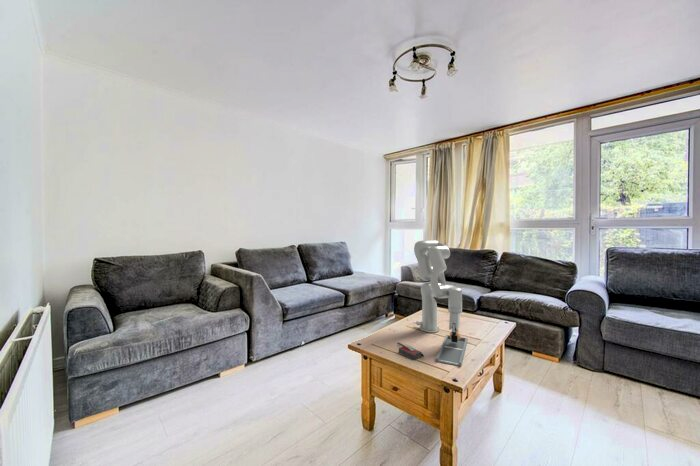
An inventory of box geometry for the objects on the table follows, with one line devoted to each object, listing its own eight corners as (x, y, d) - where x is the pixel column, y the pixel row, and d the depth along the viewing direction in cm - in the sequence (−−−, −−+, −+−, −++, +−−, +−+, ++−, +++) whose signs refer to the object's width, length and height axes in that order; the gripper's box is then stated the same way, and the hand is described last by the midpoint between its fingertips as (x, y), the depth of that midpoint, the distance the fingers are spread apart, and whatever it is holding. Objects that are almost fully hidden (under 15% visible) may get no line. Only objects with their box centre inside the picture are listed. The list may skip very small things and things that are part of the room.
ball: (448, 341, 166) (449, 331, 166) (450, 338, 172) (450, 328, 171) (460, 343, 164) (460, 333, 163) (461, 340, 169) (461, 329, 169)
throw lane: (436, 361, 147) (436, 357, 147) (446, 337, 178) (446, 334, 178) (461, 366, 142) (461, 362, 142) (467, 341, 173) (467, 338, 173)
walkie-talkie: (426, 357, 153) (398, 344, 169) (426, 348, 153) (398, 337, 169) (416, 361, 148) (388, 348, 164) (416, 353, 148) (388, 341, 164)
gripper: (450, 304, 176) (450, 334, 177) (446, 312, 161) (445, 344, 162) (463, 306, 173) (463, 336, 174) (460, 314, 158) (460, 346, 158)
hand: (454, 339), depth 168 cm, fingers closed on ball, 5 cm apart
